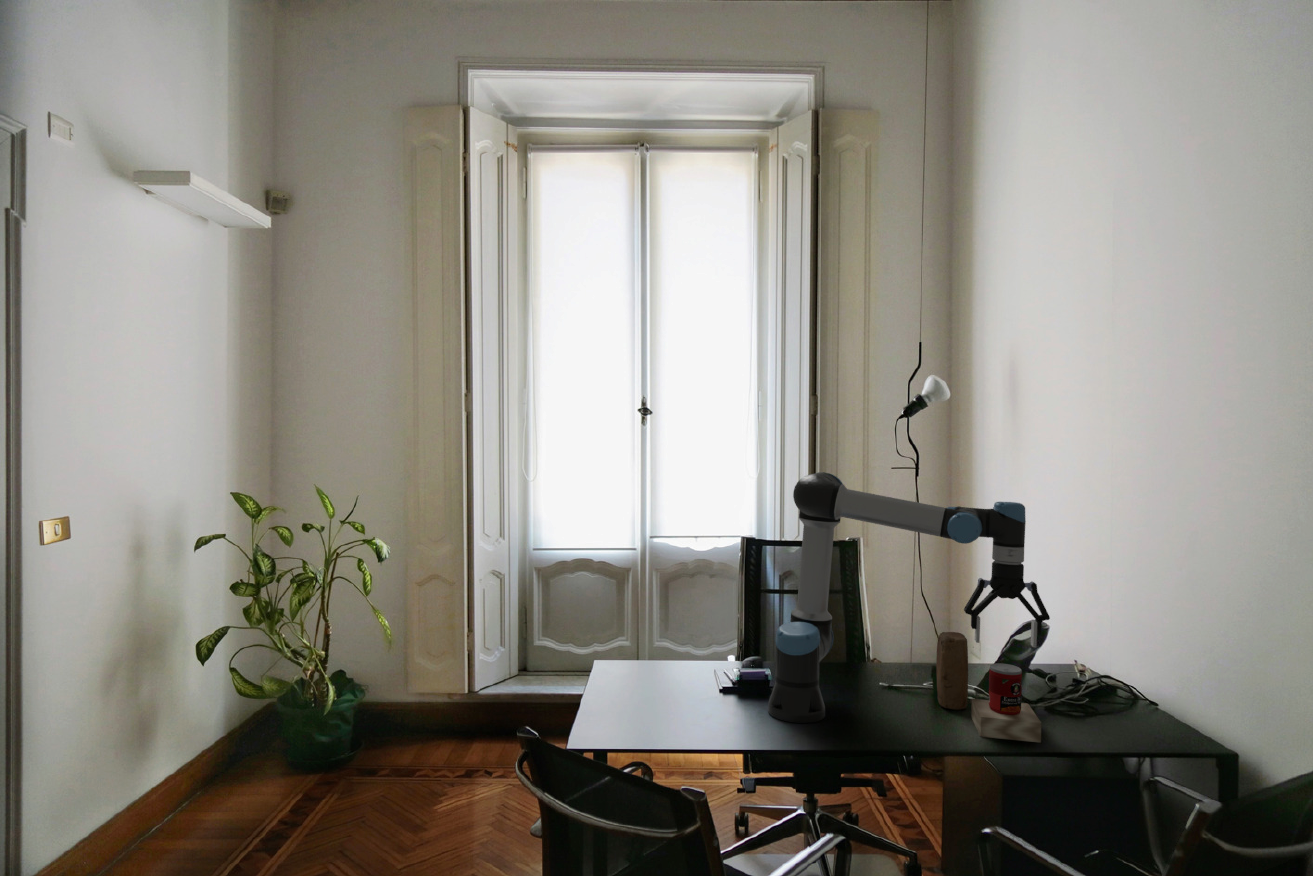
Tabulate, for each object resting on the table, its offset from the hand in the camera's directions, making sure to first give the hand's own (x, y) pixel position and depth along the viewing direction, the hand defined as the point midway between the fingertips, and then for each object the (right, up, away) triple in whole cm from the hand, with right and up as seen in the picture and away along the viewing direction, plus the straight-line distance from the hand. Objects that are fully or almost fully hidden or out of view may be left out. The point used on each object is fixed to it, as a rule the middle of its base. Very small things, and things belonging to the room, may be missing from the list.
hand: (1005, 644), depth 201 cm
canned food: (0, -17, 0) cm, 17 cm away
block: (-7, -22, +18) cm, 29 cm away
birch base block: (0, -22, 0) cm, 22 cm away
